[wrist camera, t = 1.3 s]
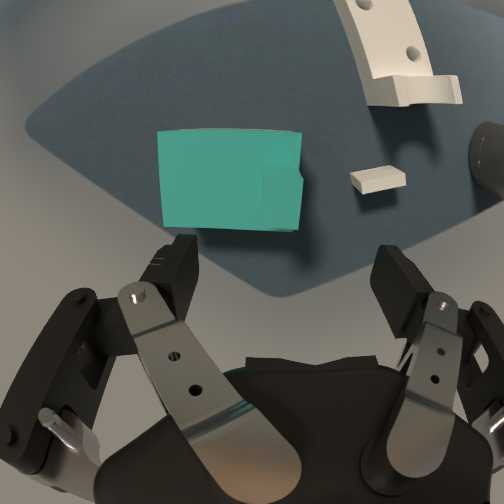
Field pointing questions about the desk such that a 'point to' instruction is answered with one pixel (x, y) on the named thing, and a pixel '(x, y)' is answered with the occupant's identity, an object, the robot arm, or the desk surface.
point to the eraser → (378, 179)
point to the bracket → (393, 55)
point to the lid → (230, 179)
